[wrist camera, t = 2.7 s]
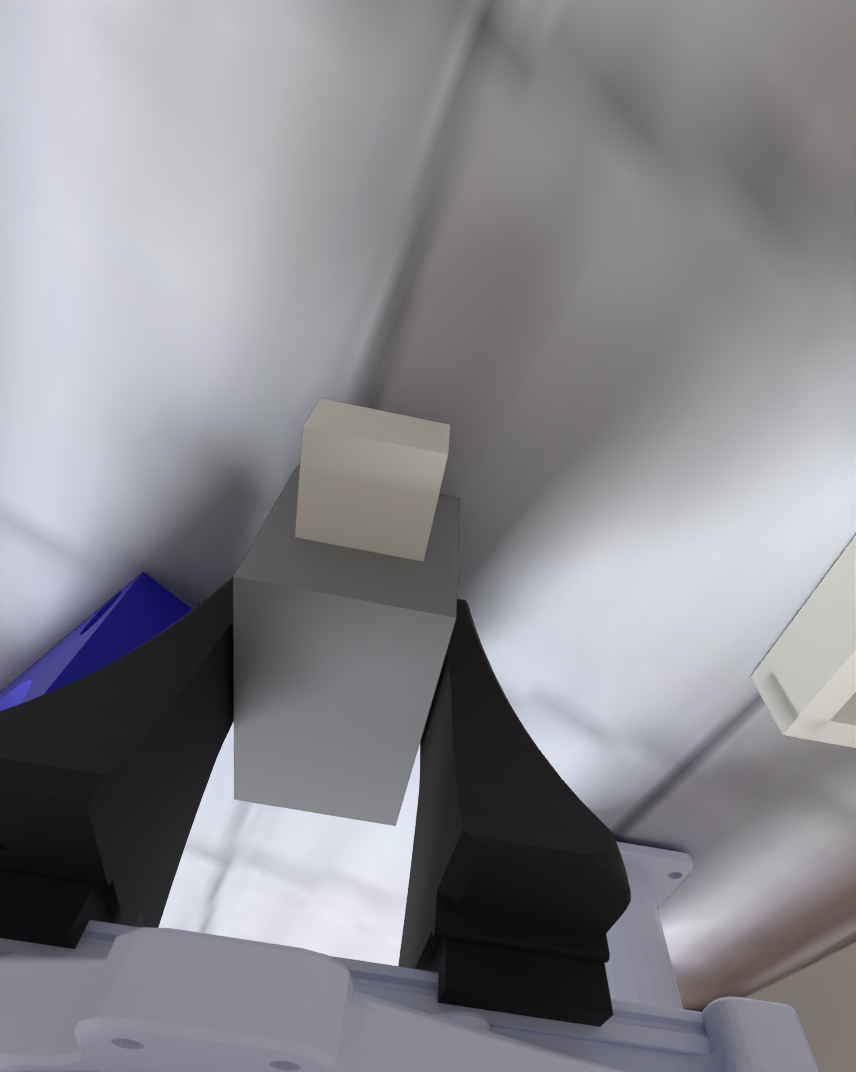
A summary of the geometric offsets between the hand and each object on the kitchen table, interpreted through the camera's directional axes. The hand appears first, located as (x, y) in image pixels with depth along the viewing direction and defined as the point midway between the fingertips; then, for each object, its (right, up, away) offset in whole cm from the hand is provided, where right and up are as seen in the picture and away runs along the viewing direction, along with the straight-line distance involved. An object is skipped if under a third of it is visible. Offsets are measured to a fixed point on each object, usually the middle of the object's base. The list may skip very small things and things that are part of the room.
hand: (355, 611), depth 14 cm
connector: (0, +1, +1) cm, 2 cm away
